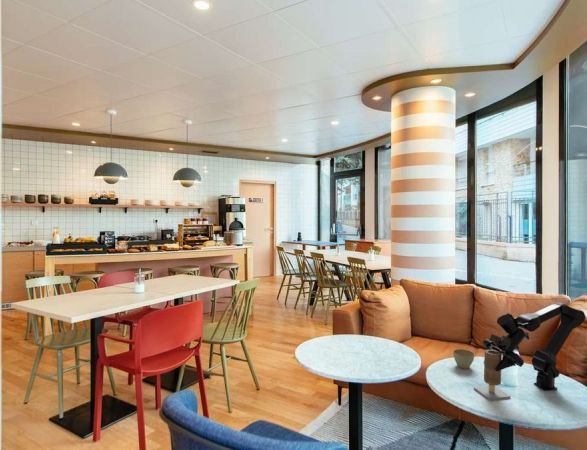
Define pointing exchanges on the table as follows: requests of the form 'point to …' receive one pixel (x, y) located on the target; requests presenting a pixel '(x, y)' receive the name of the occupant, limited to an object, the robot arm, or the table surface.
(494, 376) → the brown faceted vase
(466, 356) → the flower pot
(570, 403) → the table surface
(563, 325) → the robot arm
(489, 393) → the post stand
